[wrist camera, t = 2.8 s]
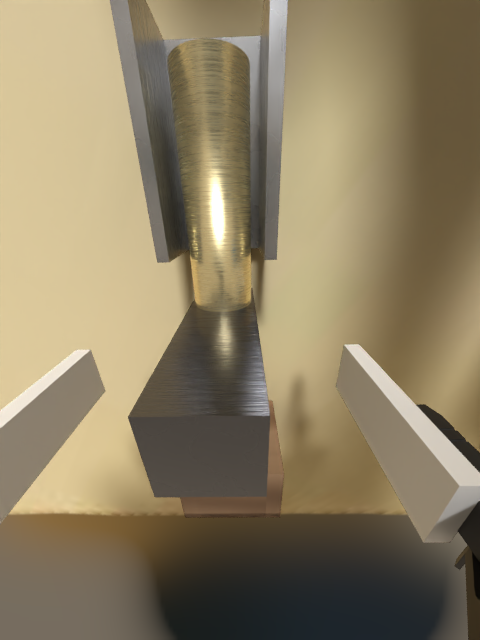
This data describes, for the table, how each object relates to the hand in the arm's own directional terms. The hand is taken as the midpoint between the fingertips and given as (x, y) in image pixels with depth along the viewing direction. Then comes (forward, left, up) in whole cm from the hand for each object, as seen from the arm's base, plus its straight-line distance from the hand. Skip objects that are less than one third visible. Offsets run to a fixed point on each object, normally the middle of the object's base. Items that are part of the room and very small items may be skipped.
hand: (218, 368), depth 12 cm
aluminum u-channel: (-10, 0, -7) cm, 13 cm away
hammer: (-2, 0, -7) cm, 8 cm away
